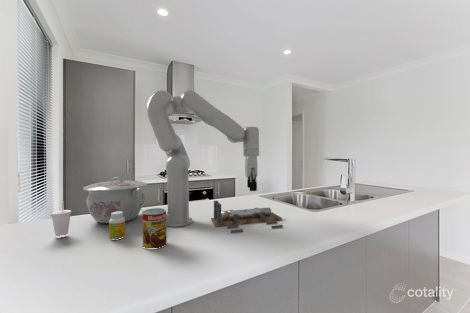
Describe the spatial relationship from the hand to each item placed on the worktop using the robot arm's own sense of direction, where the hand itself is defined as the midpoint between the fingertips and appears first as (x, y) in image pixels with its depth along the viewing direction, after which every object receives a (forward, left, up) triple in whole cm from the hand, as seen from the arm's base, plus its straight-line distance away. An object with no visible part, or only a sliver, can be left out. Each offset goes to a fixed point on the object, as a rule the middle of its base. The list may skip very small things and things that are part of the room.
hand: (251, 189), depth 107 cm
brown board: (-3, 0, -15) cm, 15 cm away
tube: (-3, 0, -14) cm, 14 cm away
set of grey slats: (-3, -11, -15) cm, 19 cm away
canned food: (-43, -17, -15) cm, 48 cm away
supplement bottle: (-57, -6, -15) cm, 59 cm away
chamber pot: (-62, +20, -15) cm, 67 cm away
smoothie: (-78, +2, -15) cm, 79 cm away
